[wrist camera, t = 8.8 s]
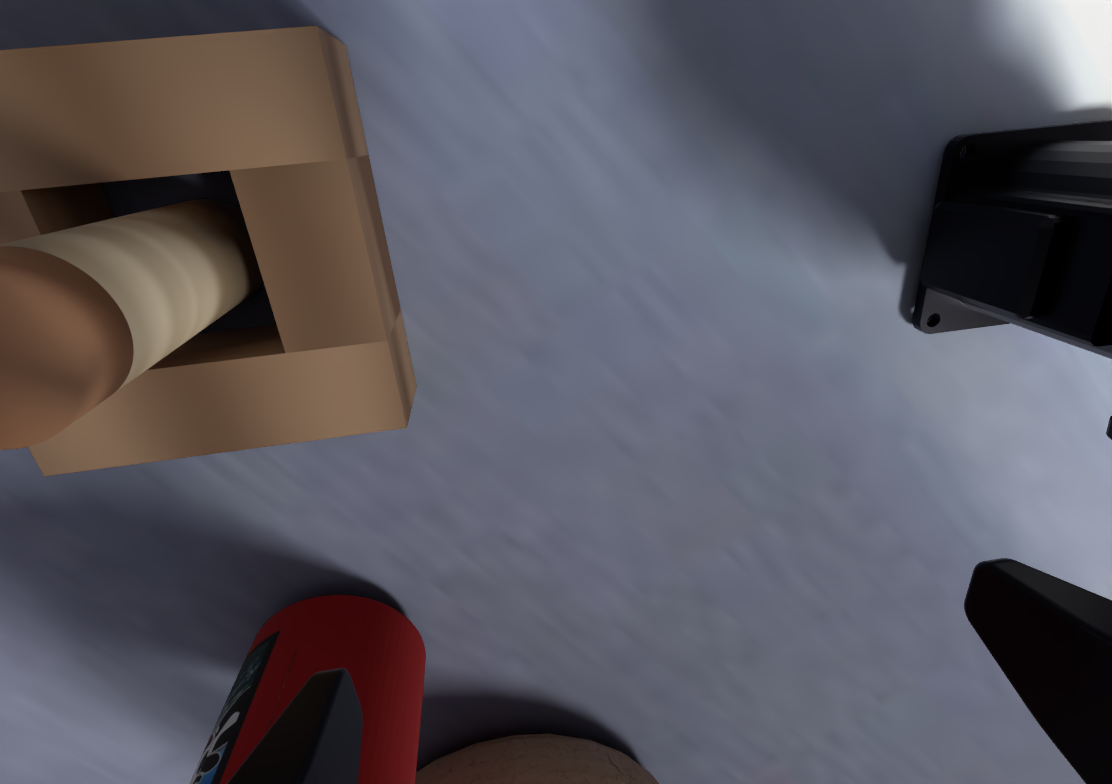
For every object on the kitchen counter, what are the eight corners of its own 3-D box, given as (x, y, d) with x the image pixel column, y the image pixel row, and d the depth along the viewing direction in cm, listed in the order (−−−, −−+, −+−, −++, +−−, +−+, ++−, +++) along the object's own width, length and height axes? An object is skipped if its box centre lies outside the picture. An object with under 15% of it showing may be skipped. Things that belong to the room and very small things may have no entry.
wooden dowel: (251, 193, 16) (27, 254, 8) (282, 295, 18) (114, 436, 9) (142, 204, 16) (-202, 277, 8) (181, 306, 17) (-82, 461, 9)
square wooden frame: (345, 44, 15) (316, 26, 12) (416, 386, 19) (406, 427, 17) (-60, 77, 14) (-185, 64, 12) (107, 426, 19) (43, 476, 16)
